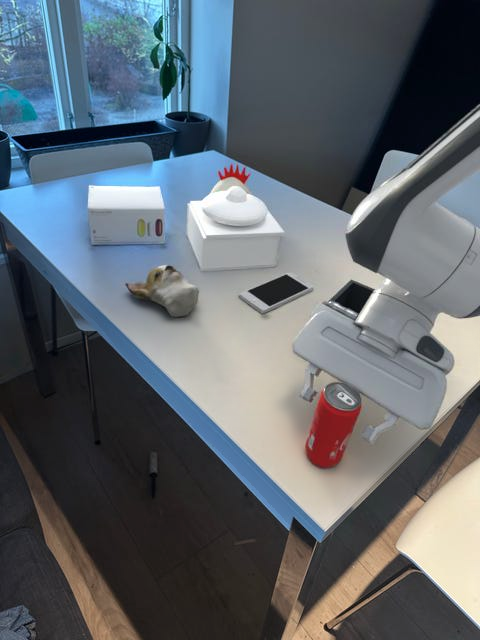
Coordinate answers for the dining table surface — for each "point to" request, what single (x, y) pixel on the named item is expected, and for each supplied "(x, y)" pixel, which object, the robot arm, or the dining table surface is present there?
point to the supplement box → (126, 215)
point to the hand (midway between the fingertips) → (334, 419)
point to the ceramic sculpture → (167, 290)
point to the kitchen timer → (232, 180)
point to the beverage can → (333, 424)
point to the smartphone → (276, 292)
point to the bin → (353, 296)
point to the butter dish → (232, 231)
